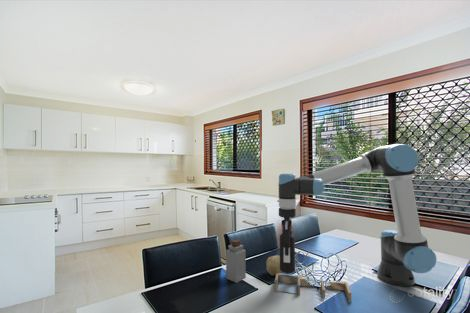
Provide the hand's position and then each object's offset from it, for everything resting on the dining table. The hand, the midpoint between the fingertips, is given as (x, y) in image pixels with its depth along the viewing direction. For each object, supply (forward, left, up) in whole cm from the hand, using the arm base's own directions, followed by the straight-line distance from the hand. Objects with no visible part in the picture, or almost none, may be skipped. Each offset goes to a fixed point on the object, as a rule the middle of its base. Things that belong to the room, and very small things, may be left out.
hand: (287, 259), depth 110 cm
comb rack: (-10, -1, -13) cm, 16 cm away
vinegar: (0, 0, -5) cm, 5 cm away
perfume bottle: (+25, -4, -13) cm, 28 cm away
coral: (+7, -13, -13) cm, 19 cm away
